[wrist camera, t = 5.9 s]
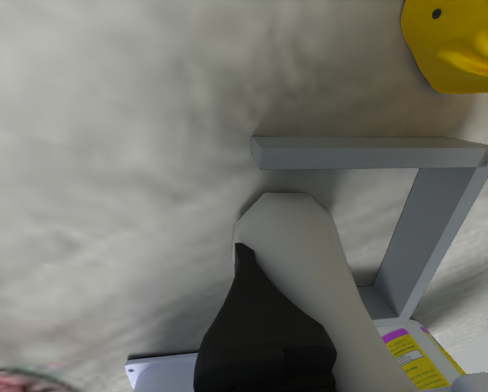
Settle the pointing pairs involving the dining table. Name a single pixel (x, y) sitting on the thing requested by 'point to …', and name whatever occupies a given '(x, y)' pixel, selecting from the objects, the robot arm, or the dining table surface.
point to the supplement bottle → (420, 355)
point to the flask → (320, 286)
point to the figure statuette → (449, 43)
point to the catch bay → (415, 211)
